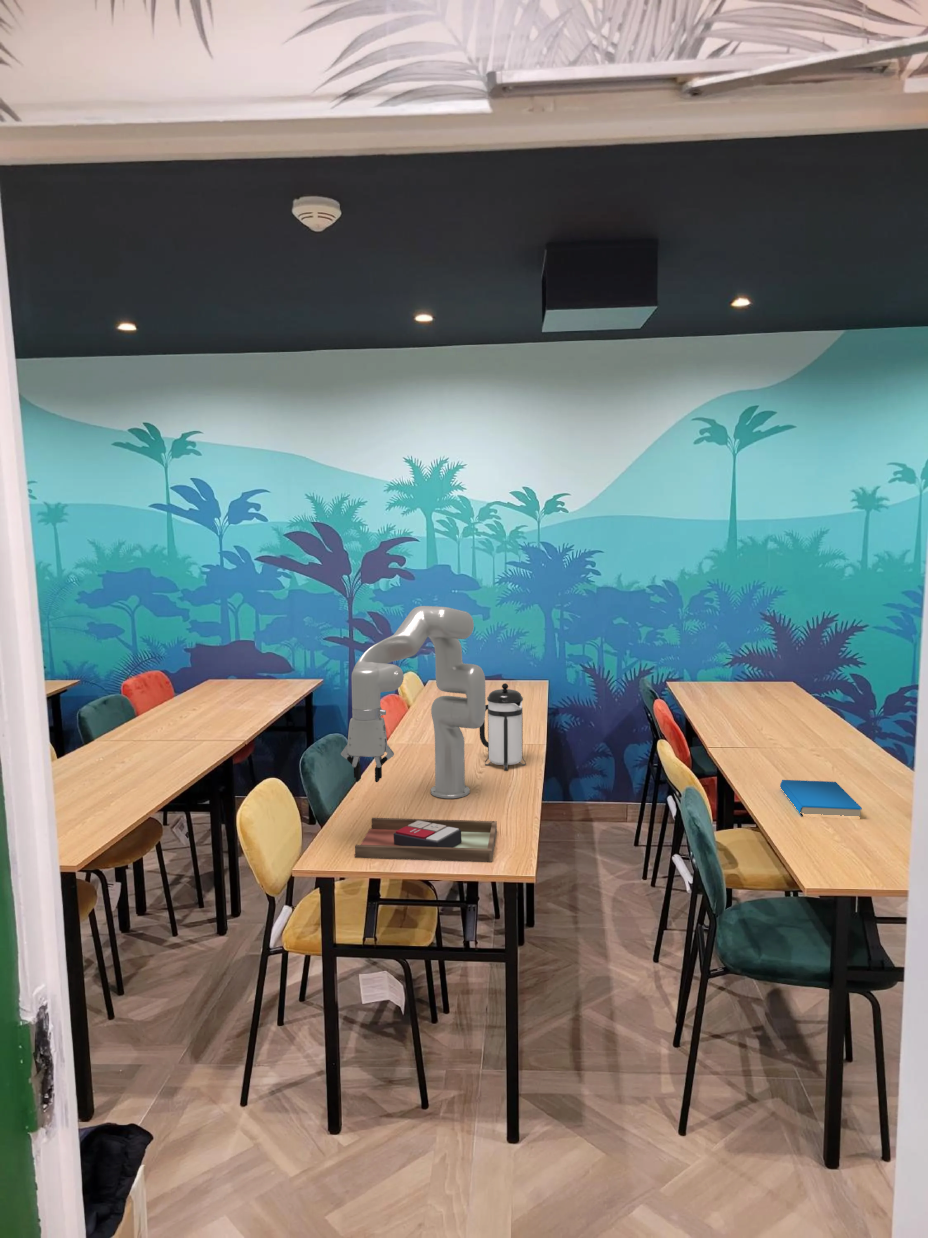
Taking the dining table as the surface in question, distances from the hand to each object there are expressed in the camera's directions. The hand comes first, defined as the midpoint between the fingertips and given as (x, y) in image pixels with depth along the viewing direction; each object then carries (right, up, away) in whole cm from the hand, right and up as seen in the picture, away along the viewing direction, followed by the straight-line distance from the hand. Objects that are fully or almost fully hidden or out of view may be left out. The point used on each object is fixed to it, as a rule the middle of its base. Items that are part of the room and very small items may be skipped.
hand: (368, 779), depth 213 cm
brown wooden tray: (+16, -17, 0) cm, 24 cm away
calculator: (+16, -17, 0) cm, 24 cm away
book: (+134, -14, +29) cm, 138 cm away
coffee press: (+40, -10, +74) cm, 84 cm away
